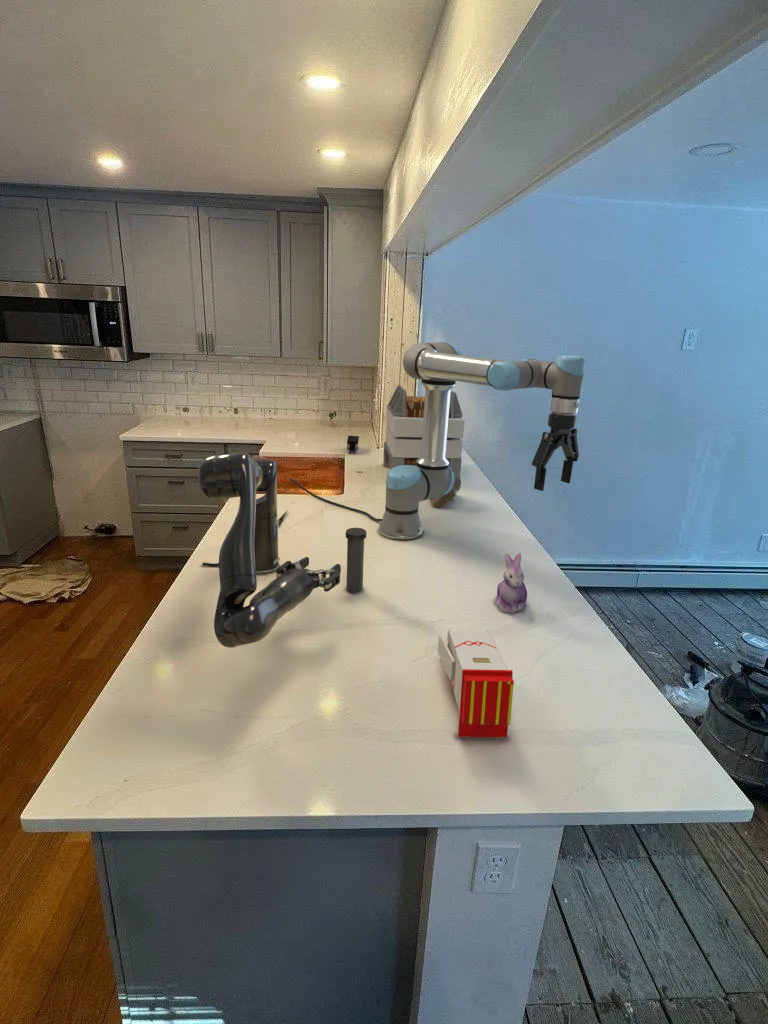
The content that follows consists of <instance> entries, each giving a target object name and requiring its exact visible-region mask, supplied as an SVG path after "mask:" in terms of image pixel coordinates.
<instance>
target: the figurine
mask: <svg viewBox="0 0 768 1024" xmlns="http://www.w3.org/2000/svg"><path fill="white" fill-rule="evenodd" d="M511 557H512V556H511V555H509V553H505V555H504V559H505V560H504V561H505V569H504V571H503V580H502V581H500V582H499V583H498V585H497V589H496V597H495V603H496V606H497V607H499V609H500V610H501V611H502V612H505V613H512V614H513V613H517V612H519V611H522V610H523V609H524V608H525V605H526V602H527V599H528V590H527V586H526V584H525V582H524V580H525V574H524V571H523V569H522V567H521V562H522V561H521V560H522V553H521V552H518V553H516V554H515V557H514V559H512V558H511Z"/></svg>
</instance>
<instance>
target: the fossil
mask: <svg viewBox="0 0 768 1024" xmlns="http://www.w3.org/2000/svg"><path fill="white" fill-rule="evenodd" d="M461 485H462V481H461V477H460V478H458V477H456V476H454V484H453V487H452V489H451V490H450V491H449V492H448V493H447V494H445V495H443V496H441V497H438V498H432V499H429V500H430V504H431V505H432V507H433V508H441V507H443V506H447V505H448V504H449V503H450V502H451V501H452V502H454V498H455V497H456V495H457V493H458V492H459V491H460V489H461Z"/></svg>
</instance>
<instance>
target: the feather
mask: <svg viewBox="0 0 768 1024" xmlns="http://www.w3.org/2000/svg"><path fill="white" fill-rule="evenodd" d="M287 512H288V510H286V511H285V512H284V513H283V514H282V515H281V517H280V518H278V528H279V527H280V525H281V524H282V522H283V519H284V518H285V516H286V514H287Z"/></svg>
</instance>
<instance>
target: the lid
mask: <svg viewBox="0 0 768 1024" xmlns="http://www.w3.org/2000/svg"><path fill="white" fill-rule="evenodd" d="M345 538H346V539H347V540H348V539H349V540H354V541H359V540H363V539H364V540H366V538H367V530H366V529H365V528H361V527H349V528H347V529H345Z"/></svg>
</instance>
